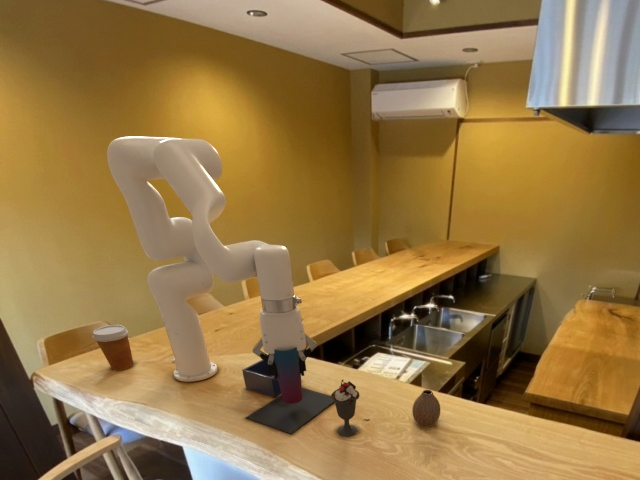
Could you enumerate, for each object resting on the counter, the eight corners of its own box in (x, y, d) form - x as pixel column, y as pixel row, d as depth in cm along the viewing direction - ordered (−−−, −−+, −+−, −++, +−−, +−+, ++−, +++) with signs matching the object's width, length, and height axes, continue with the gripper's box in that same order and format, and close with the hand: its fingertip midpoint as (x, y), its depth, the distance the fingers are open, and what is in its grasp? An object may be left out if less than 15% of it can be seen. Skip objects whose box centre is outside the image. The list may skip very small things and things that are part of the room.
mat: (245, 418, 108) (245, 417, 107) (296, 387, 122) (296, 385, 122) (291, 434, 101) (290, 433, 101) (338, 399, 116) (338, 398, 116)
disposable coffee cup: (120, 374, 129) (106, 337, 123) (98, 369, 132) (83, 332, 126) (146, 362, 137) (133, 326, 130) (124, 358, 140) (111, 322, 133)
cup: (300, 406, 107) (292, 351, 98) (275, 404, 108) (265, 349, 100) (309, 394, 112) (303, 340, 104) (285, 391, 113) (277, 339, 105)
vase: (442, 418, 108) (444, 387, 103) (435, 432, 102) (438, 400, 97) (416, 413, 109) (417, 383, 105) (408, 427, 104) (409, 396, 99)
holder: (245, 388, 121) (241, 369, 118) (272, 374, 129) (269, 356, 126) (274, 397, 117) (271, 378, 113) (300, 382, 125) (297, 363, 121)
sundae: (340, 441, 99) (335, 385, 91) (329, 428, 104) (324, 372, 95) (365, 434, 101) (363, 378, 93) (354, 421, 106) (351, 367, 98)
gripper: (314, 296, 101) (321, 365, 111) (240, 302, 97) (253, 373, 107) (318, 305, 95) (325, 377, 105) (239, 312, 91) (254, 386, 101)
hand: (289, 374), depth 106 cm, fingers closed on cup, 6 cm apart
